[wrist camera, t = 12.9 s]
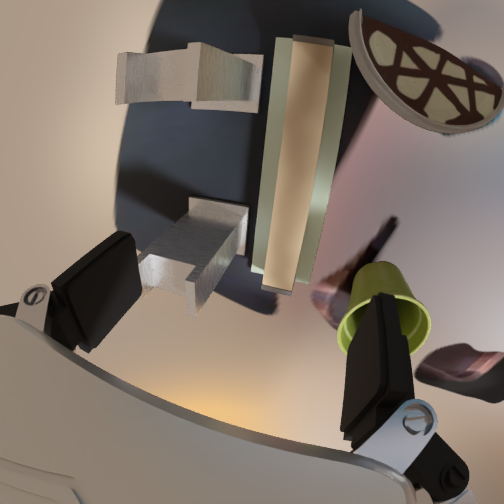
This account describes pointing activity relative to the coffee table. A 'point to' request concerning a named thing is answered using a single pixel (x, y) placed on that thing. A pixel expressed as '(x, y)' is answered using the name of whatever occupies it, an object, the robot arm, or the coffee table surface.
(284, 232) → the rail
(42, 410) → the robot arm
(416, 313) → the plant pot
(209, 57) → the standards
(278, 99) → the mat
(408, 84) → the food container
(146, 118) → the coffee table surface
